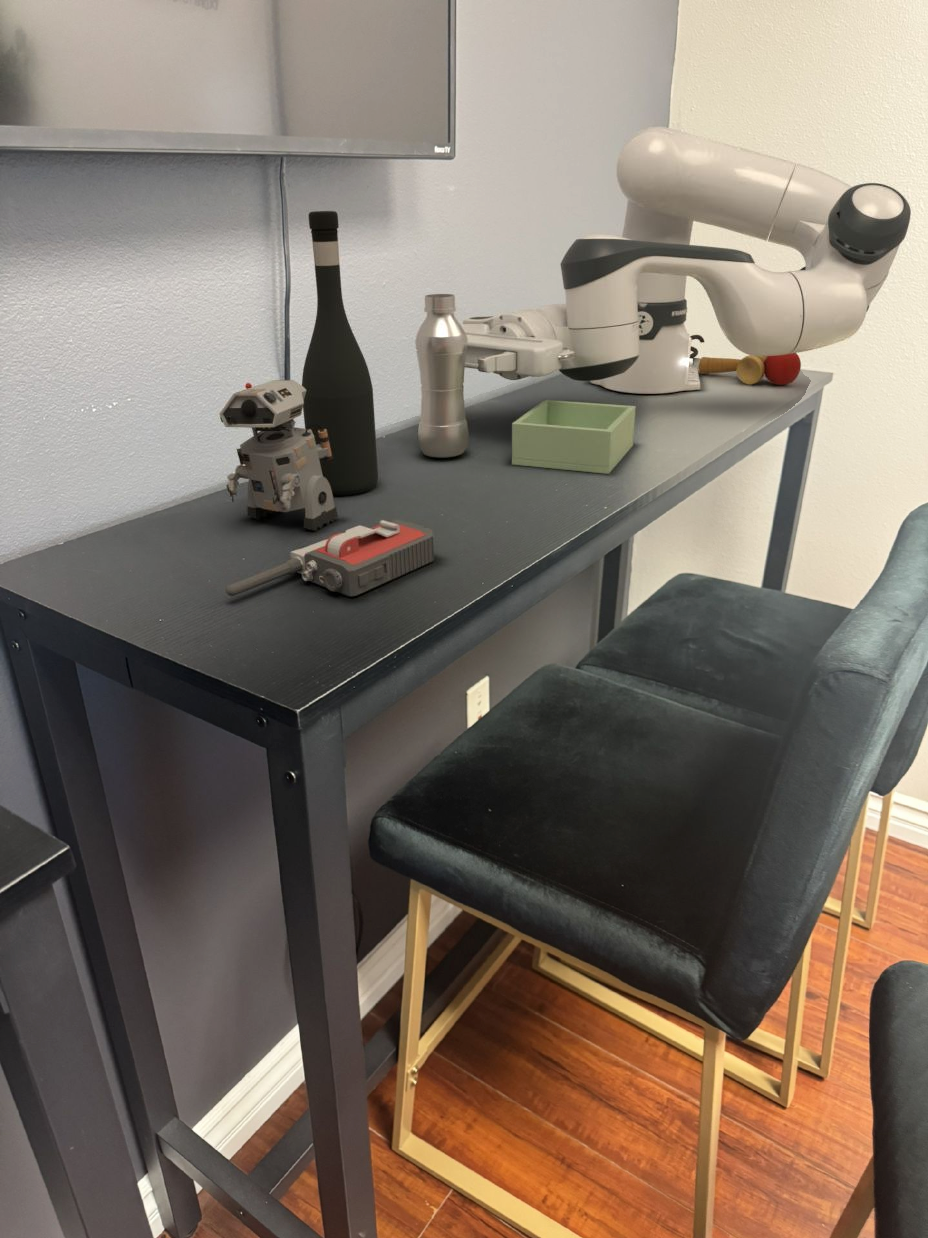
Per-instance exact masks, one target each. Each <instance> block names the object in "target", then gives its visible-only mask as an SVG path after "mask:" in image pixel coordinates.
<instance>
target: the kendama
mask: <svg viewBox="0 0 928 1238" xmlns="http://www.w3.org/2000/svg"><path fill="white" fill-rule="evenodd" d="M801 368H802V362H801V357H800V356H799V354H798V353H792V354H785V355H776V356H751V355H746V356H744V357H743V358H741V359H739V358H725V357H709V356H702V357H701V358H700V359H699V362H698V372H699V373H700V375H707V374H708V375H710V374H721V373H732V372H733V373H734V372H736V375H737V377H738V379H739V380H740V381H741V382H742V383H744V384H746V385H755V384H757V383H758V382H761V381H762V380H763V378H764V377H765V378H766V379H767V380H768V382H770V383H772V384H773V385H777V386H784V385H789V384H792V383H793V382H794V381H795V380H796V379H797V378H798V376H799V374H800V372H801Z"/></svg>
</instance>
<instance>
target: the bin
mask: <svg viewBox="0 0 928 1238" xmlns="http://www.w3.org/2000/svg"><path fill="white" fill-rule="evenodd" d="M635 422H636V406H635V405H623V404H607V403H595V402H594V403H593V402H581V401H565V400H554V399H544V400H543V401H541V402H540V403H538V404H537V405H536V406H534V407H533V408H531V409H529V411H527V412H526V413H524V414H523V415H521V416H520V417H519V418H518V419H516V420H515V421H513V422H512V423H511V465H513V466H523V467H534V468H543V469H553V470H554V469H555V470H565V471H573V472H574V471H575V472H585V473H593V474H594V473H595V474H596V473H597V474H604V475H609V474H610V473H611V472H612V471H613V469H615V467H617V465H618V464H619V463H620V462H621V460H622V459H623V458H624V457H625V456H626V454H627V453H628V452H629V451H630V450H631V449H632V448H633V446H634V437H635Z"/></svg>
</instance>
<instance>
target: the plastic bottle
mask: <svg viewBox="0 0 928 1238" xmlns="http://www.w3.org/2000/svg"><path fill="white" fill-rule="evenodd" d="M423 309H424V313H426V317H425V319H424V320H423V322H422V323H421V324H420V327H419V328H418V331H417V333H416V336H415V341H414V342H415V343H414V344H415V349H416V358H417V363H418V369H419V378H420V385H421V386H420V392H421V400H420V420H419V422H418V423H419V425H418V431H417V442H418V447H419V449H420V450H421V452H422V453H423V455H425V456H428V457H432V458H451V457H456V456H457V457H458V456H460V455H462V454H464V453H465V451H466V450H467V447H468V445H469V438H470V434H469V426H468V421H467V419H466V408H465V396H464V395H465V394H464V386H465V385H464V383H465V369H466V367H465V361H466V354H467V344H468V339H467V336H466V332H465V330H464V329H463V327H462V326H461V324H462V323H460V321H459V320H458V319H457V317H456V315H455V312H457V306H456V296H455V294H452V293H451V294H450V293H432V294H426V295H424V307H423Z"/></svg>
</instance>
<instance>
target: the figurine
mask: <svg viewBox="0 0 928 1238" xmlns="http://www.w3.org/2000/svg"><path fill="white" fill-rule="evenodd" d="M305 394H306V389H305V388H304V387H303V386H302V384H300V383H299V382H297V381H295V380H294V379H284V380H283V379H281V380H280V379H278V380H277V379H274V380H273V379H272V380H269V381H268V382H264V383H261V384H257V385H255V386H252V384H251V383H250V382H246V384H245V389H243V390H240V391H236V392H234V393H233V394H232V395H231V396H230V398H229V400H228V401H227V403H225V405H224V406H223V408H222V410H220V412H219V419H220V421H221V423H222V424H223V425H224V427H225V428H246V429H247V428H248V429H251V431H252V434H253V436H251V437H249V438H248V439H247V440H245V441H244V442H242V443H241V444H239V447H240V448H236V453H237V456H238V462H239V464H238V465H237V466H236V467H235V470H234V473H230V474H227V476H226V478H227V480H229V481H228V483H227V484H226V485H225V487H226V489H227V492H228V494H229V495H230V497H231V502H232V503H234V502H235V499H234V496H236V497H237V496H238V492H237V488H238V486H239V485H240V482H239V480H240V479H245V480H248V482H247V483H248V484H247V500H248V501H247V502H248V506H247V508H246V509H247V511H246V512H247V517H249V518H251V519H254V520H260V519H261V517H262V518H265V517H266V515H267V514H273V513H274V512H281V513H289V512H292V511H297V510H302V509H304V512H305V513H304V515H305V516H304V517H303V528H305V529H307V531H311V532H317V531H318V530H319V529H322V528H323V527H324V525H327V526H328V525H330V523H334V522H335V520H336V518H338V511H337V507H335V502H334V495H333V494H332V490H331V487H330V484H329V482H328V480H327V479H326V478H325V477H323V475H322V470H321V465H320V461H319V458H323V460H325V461H328V460H331V459H333V455H332V454H331V449H330V444H329V437H328V434H327V430H326V429H322V427H321V426H320V425H318V424H311V425H309V426H308V427H307V429H305V428H303V427H302V428H301V427H295V426H296V421H295V419H296V418H299V417H301V416H302V413H303V404H304V397H305ZM314 425H316V426H319V427H320V430H318V435H319V441H320V444H321V445H320V444H318V445H316V442H315V438H314V435H313V433H312V430H311V429H309V428H310V427H311V426H314Z"/></svg>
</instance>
